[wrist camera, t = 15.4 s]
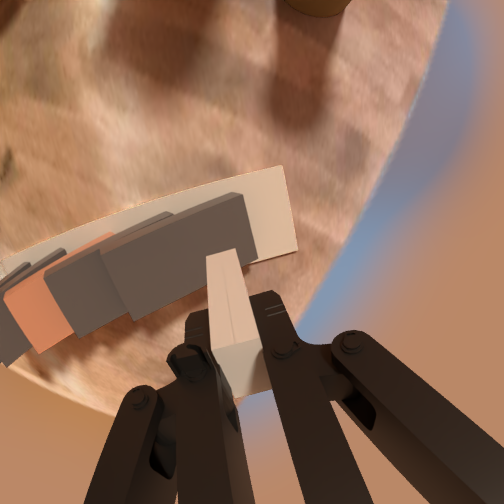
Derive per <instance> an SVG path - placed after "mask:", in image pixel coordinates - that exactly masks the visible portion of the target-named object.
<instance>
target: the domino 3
mask: <svg viewBox="0 0 504 504" xmlns="http://www.w3.org/2000/svg"><path fill="white" fill-rule="evenodd" d="M172 215H174V214H173V213H170V212H168V211H165V212H163V213H160V214H158V215H156V216H154V217H151V218H149V219H147V220H145V221H142V222H140V223H138V224H136V225H134V226H132V227H130V228H127V229H125V230H123V231H121V232H119V233H117V234H115V235H113V236H111V237H109V238H107V239H105V240H103V241H101V242H99V243H97V244H95V245H93V246H91V247H89V248H87V249H85V250H83V251H81V252H79V253H77V254H75V255H73V256H71V257H69V258H67V259H66V260H64V261H62V262H60V263H58V264H56V265H55V266H53V267H51V268H49V269H47V270H45V272H44V277H43V279H44V281H45V283H46V285H47V287H48V289H49V290H50V292H51V294H52V296H53V298H54V299H55V301H56V303H57V305H58V306H59V308H60V310H61V311H62V313H63V315H64V316H65V318H66V320H67V321H68V323H69V324H70V326H71V328H72V329H73V331H74V332H75V334H76V335H77V337H78V338H79V339H80V338H81V337H83V336H85V335H87V334H89V333H91V332H92V331H94V330H96V329H98V328H100V327H101V326H103V325H105V324H107V323H109V322H111V321H113V320H114V319H116V318H118V317H120V316H122V315H124V314H125V313H127V312H128V310H127V308H126V307H125V305H124V303H123V301H122V299H121V297H120V295H119V293H118V291H117V289H116V287H115V285H114V283H113V281H112V279H111V277H110V275H109V273H108V270H107V268H106V266H105V264H104V262H103V260H102V257H101V255H100V248H101V247H103V246H105V245H107V244H109V243H112V242H114V241H116V240H118V239H120V238H122V237H125V236H127V235H129V234H131V233H133V232H136V231H138V230H140V229H142V228H145V227H147V226H149V225H151V224H154V223H156V222H158V221H161V220H163V219H165V218H168V217H170V216H172Z"/></svg>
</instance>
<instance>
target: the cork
mask: <svg viewBox="0 0 504 504" xmlns="http://www.w3.org/2000/svg"><path fill="white" fill-rule="evenodd" d="M284 1H285V2H286V3H288V4H289V5H290V6H291V7H292V8H294V9H296V10H298V11H300V12H302V13H304V14H307V15H310V16H314V17H330V16H334V15H337V14H338V13H340V12H341V11H342V10H343V9H344V8H345V7H346V6H347V5H348V4H349V3H350V2H351V0H284Z"/></svg>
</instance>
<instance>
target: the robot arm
mask: <svg viewBox="0 0 504 504" xmlns="http://www.w3.org/2000/svg"><path fill="white" fill-rule="evenodd" d="M206 268H207V290H208V309H204V310H201V311H197V312H193V313H190V314H189V316H188V318H187V320H186V322H185V340H184V343H183V344H180V345H178V346H177V347H175V348H174V349H173V350H172V351H171V352H170V353H169V354H168V357H167V360H166V362H167V363H168V365H169V366H170V368H171V370H172V371H173V373H174V374H175V376H176V377H177V379H176V380H175V381H174V382H172V383H170V384H169V385H167V386H165V387H162V388H160V389H158V390H155V389H154V388H152V387H151V386H147V385H141V386H137V387H135V388H132V389H131V390H130V391H129V392H128V393H127V394H126V395H125V397H124V398H123V401H122V403H121V405H120V408H119V410H118V413H117V415H116V417H115V420H114V423H113V425H112V427H111V430H110V432H109V435H108V438H107V440H106V443H105V445H104V448H103V451H102V453H101V456H100V458H99V461H98V464H97V466H96V469H95V472H94V475H93V478H92V481H91V483H90V486H89V489H88V492H87V495H86V498H85V501H84V504H175V500H176V495H177V491H178V504H255V500H254V495H253V490H252V485H251V481H250V475H249V470H248V465H247V460H246V455H245V449H244V444H243V439H242V433H241V427H240V422H239V416H238V411H237V408H236V406H235V404H234V402H233V395H234V397H235V398H240V397H244V396H248V395H252V394H256V393H259V392H263V391H267V390H270V389H272V390H273V393H274V397H275V400H276V404H277V407H278V411H279V415H280V418H281V422H282V425H283V429H284V432H285V436H286V439H287V443H288V446H289V449H290V453H291V457H292V460H293V463H294V467H295V470H296V474H297V477H298V480H299V484H300V487H301V490H302V494H303V497H304V500H305V504H374V503H373V501H372V498H371V496H370V494H369V491H368V489H367V487H366V484H365V482H364V479H363V477H362V475H361V472H360V470H359V468H358V466H357V463H356V461H355V459H354V456H353V454H352V452H351V449H350V447H349V444H348V442H347V440H346V438H345V435H344V433H343V431H342V428H341V426H340V424H339V422H338V419H337V417H336V415H335V412H334V410H333V408H332V405H331V403H330V401H334V400H335V401H336V402H337V403H338V404H339V405H340V406H341V408H342V409H343V410H344V411H345V412H346V413H347V415H348V416H349V417H350V418H351V419H352V420H353V421H354V422H355V424H356V425H357V426H358V427H359V428H360V429H361V430H362V431H363V433H364V434H365V435H366V436H367V437H368V438H369V439H370V440H371V441H372V443H373V444H374V445H375V446H376V447H377V448H378V449H379V450H380V451H381V452H382V454H383V455H384V456H385V457H386V458H387V459H388V460H389V461H390V462H391V463H392V464H393V465H394V467H395V468H396V469H397V470H398V471H399V472H400V473H401V474H402V475H403V476H404V477H405V478H406V479H407V480H408V481H409V482H410V484H411V485H413V487H414V488H415V489H416V490H417V491H418V492H419V493H420V494H421V495H422V496H423V497H424V498H425V499H426V500H427V501H428V502H429V503H430V504H504V448H503V447H502V446H501V445H500V444H499V443H498V442H496V441H495V440H494V439H493V438H492V437H491V436H489V435H488V434H487V433H486V432H485V431H483V430H482V429H481V428H480V427H479V426H478V425H476V424H475V423H474V422H473V421H472V420H471V419H469V418H468V417H467V416H466V415H465V414H463V413H462V412H461V411H460V410H459V409H458V408H456V407H455V406H454V405H453V404H452V403H450V402H449V401H448V400H447V399H446V398H444V397H443V396H442V395H441V394H440V393H438V392H437V391H436V390H435V389H433V388H432V387H431V386H430V385H429V384H428V383H426V382H425V381H424V380H423V379H422V378H420V377H419V376H418V375H417V374H416V373H414V372H413V371H412V370H411V369H410V368H408V367H407V366H406V365H405V364H404V363H402V362H401V361H400V360H399V359H397V358H396V357H395V356H394V355H393V354H391V353H390V352H389V351H388V350H387V349H385V348H384V347H383V346H382V345H380V344H379V343H378V342H377V341H376V340H374V339H373V338H372V337H371V336H369V335H368V334H366V333H364V332H362V331H357V330H351V331H345V332H343V333H340V334H339V335H337V336H336V337H335V338H334V339H333V342H332V344H322V345H314V344H309V343H306V342H304V341H302V340H301V339H300V338H299V337H298V335H297V333H296V331H295V329H294V327H293V324H292V322H291V320H290V317H289V315H288V313H287V311H286V308H285V306H284V304H283V302H282V299H281V297H280V295H278V294H277V293H276V292H274V291H273V290H270V291H266V292H263V293H260V294H256V295H252V296H249V295H248V291H247V288H246V284H245V281H244V277H243V274H242V270H241V267H240V263H239V260H238V256H237V253H236V249H235V248H234V249H231V250H227V251H223V252H220V253H216V254H213V255H209V256H206ZM232 393H233V395H232Z"/></svg>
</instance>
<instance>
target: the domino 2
mask: <svg viewBox="0 0 504 504" xmlns="http://www.w3.org/2000/svg"><path fill="white" fill-rule="evenodd" d="M113 235H115V234H114V233H112V232H111V231H109V232H108V233H106V234H104V235H102V236H100V237H98V238H96V239H94V240H92V241H90V242H89V243H87V244H85V245H83V246H81V247H79V248H78V249H76V250H74V251H72V252H70V253H69V254H67V255H65V256H63V257H62V258H60V259H58V260H56V261H55V262H53V263H51V264H50V265H48V266H46V267H44V268H43V269H41V270H39V271H38V272H36V273H35V274H33V275H31V276H30V277H28V278H26V279H25V280H23V281H22V282H20V283H19V284H17V285H15V286H14V287H12V288H11V289H9V290H8V291H6V292H5V295H4V299H3V300H4V302H5V303H6V305H7V307H8V309H9V310H10V312H11V314H12V315H13V317H14V318H15V320H16V322H17V323H18V325H19V326H20V328H21V329H22V331H23V332H24V334H25V335H26V337H27V338H28V340H29V341H30V343H31V344H32V345H33V347H34V348H35V350H36V351H37V352H38V354H41V353H42V352H44V351H45V350H47V349H48V348H50V347H52V346H53V345H55V344H56V343H58V342H59V341H61V340H63V339H64V338H66V337H67V336H69V335H70V334H72V333H74V331H73V329H72V328H71V326H70V324H69V323H68V321H67V320H66V318H65V316H64V315H63V313H62V311H61V310H60V308H59V306H58V305H57V303H56V301H55V299H54V298H53V296H52V294H51V292H50V290H49V289H48V287H47V285H46V283H45V281H44V279H43V277H44V272H45V270H47V269H49V268H51V267H53V266H55V265H56V264H58V263H60V262H62V261H64V260H66V259H67V258H69V257H71V256H73V255H75V254H77V253H79V252H81V251H83V250H85V249H87V248H89V247H91V246H93V245H95V244H97V243H99V242H101V241H103V240H105V239H107V238H109V237H111V236H113Z"/></svg>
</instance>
